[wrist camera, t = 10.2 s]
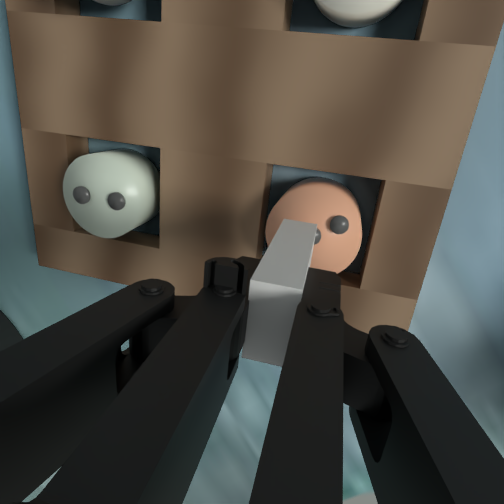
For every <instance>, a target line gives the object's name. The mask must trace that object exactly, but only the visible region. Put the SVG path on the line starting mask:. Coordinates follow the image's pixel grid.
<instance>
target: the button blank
mask: <svg viewBox="0 0 504 504" xmlns="http://www.w3.org/2000/svg"><path fill="white" fill-rule="evenodd" d="M93 1H96V2H98V3H101V4H104V5H108V6H118V5H122V4H125V3H127V2H129V1H131V0H93Z"/></svg>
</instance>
